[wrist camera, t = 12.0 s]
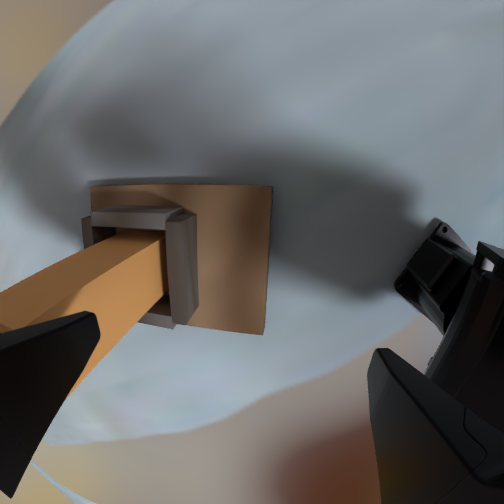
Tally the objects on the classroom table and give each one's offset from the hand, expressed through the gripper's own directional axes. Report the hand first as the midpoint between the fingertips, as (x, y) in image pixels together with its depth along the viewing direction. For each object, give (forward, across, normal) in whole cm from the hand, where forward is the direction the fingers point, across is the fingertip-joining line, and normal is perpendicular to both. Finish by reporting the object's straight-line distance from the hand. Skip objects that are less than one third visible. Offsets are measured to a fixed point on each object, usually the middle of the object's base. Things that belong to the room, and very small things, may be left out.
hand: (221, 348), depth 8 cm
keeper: (+13, +7, +2) cm, 15 cm away
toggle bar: (+12, +9, +2) cm, 15 cm away
